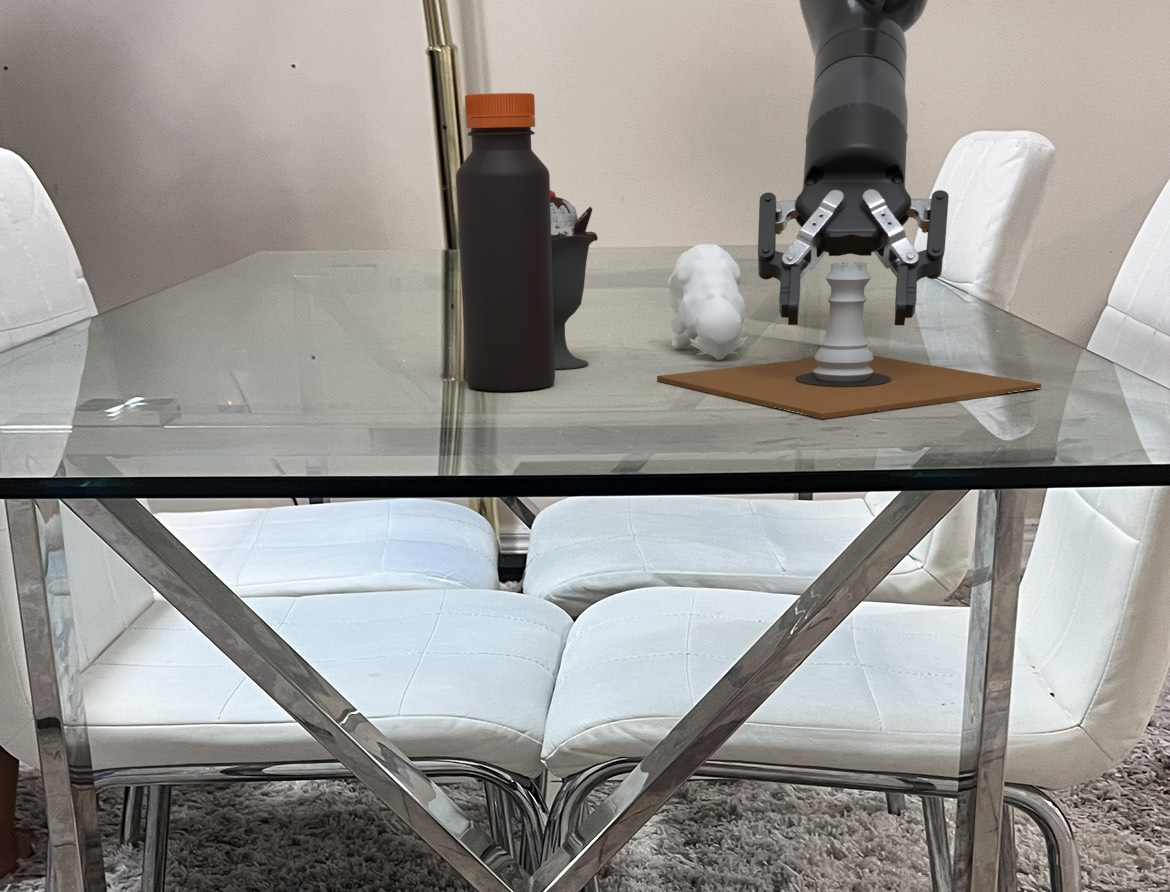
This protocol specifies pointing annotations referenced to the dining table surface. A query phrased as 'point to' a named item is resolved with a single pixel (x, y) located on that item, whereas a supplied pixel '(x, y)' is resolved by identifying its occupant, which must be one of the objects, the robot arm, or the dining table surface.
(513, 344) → the bottle
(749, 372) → the centre mat
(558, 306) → the sundae
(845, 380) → the rook chess piece
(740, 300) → the white animal figurine
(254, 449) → the dining table surface
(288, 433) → the dining table surface
